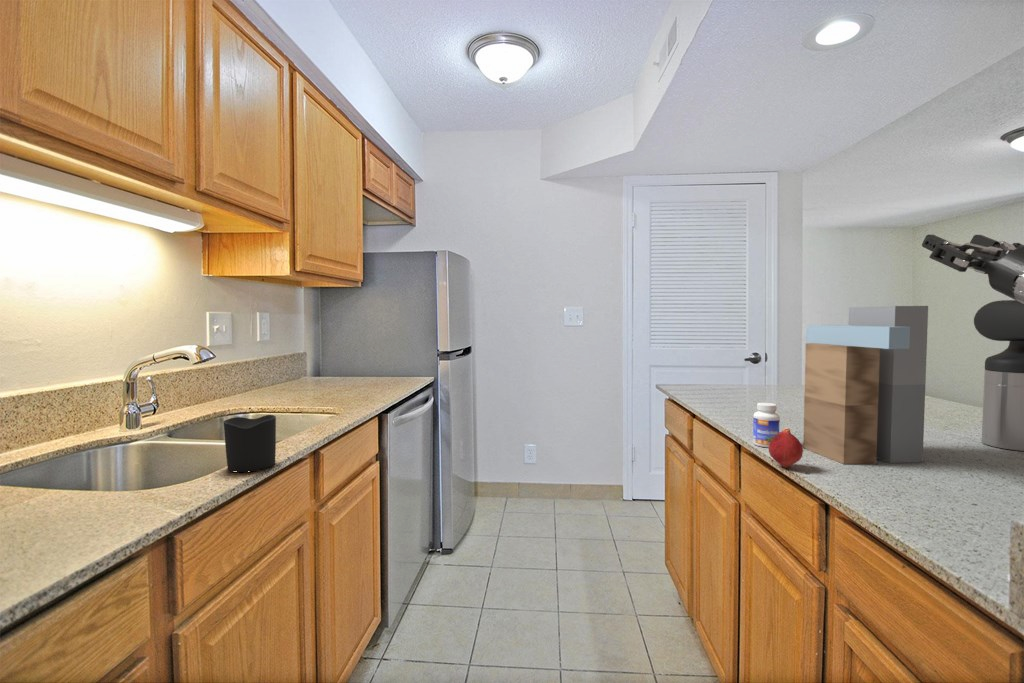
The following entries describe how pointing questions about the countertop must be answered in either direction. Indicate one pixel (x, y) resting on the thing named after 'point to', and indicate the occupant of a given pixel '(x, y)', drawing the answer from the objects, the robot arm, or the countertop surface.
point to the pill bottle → (765, 424)
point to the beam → (860, 336)
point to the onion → (785, 448)
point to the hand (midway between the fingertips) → (949, 239)
